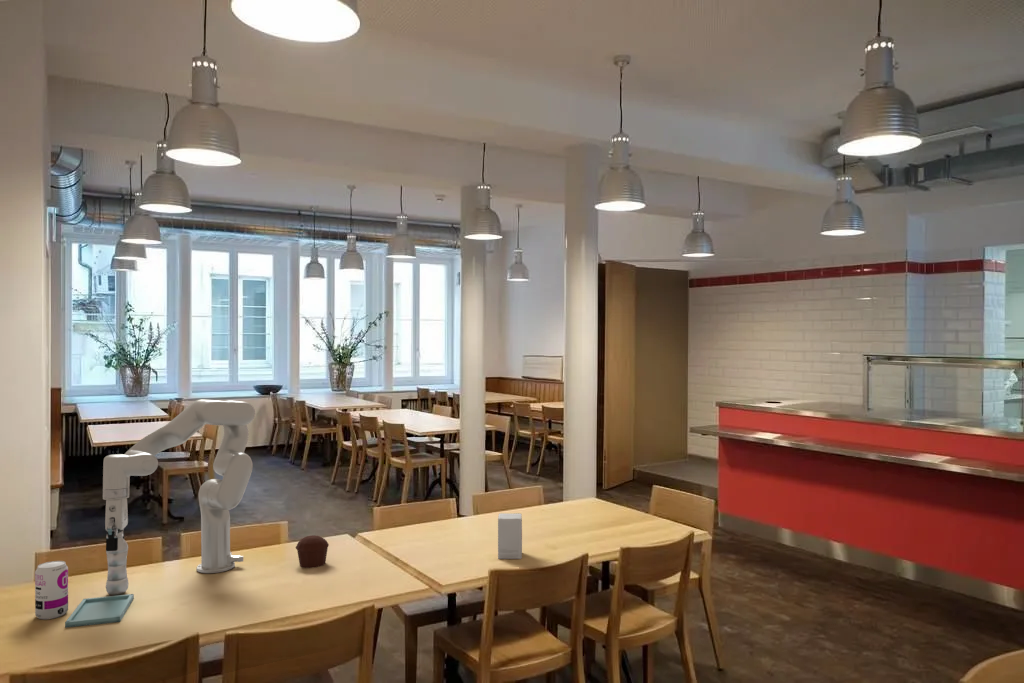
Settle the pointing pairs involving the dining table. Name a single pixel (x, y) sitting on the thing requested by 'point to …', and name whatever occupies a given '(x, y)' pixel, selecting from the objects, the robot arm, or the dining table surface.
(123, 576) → the plastic bottle
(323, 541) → the muffin
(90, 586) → the dining table surface
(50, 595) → the supplement can
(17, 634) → the dining table surface
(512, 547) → the supplement box
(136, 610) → the dining table surface
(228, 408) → the robot arm
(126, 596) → the tray
